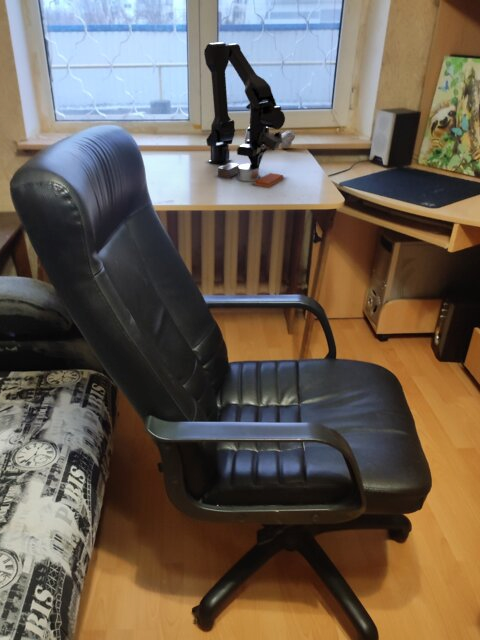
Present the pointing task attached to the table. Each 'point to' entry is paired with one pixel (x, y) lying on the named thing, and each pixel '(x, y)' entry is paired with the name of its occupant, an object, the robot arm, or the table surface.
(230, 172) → the walnut block
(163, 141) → the table surface
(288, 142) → the frog figurine
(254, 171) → the silver pot
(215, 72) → the robot arm
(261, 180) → the terracotta tray
